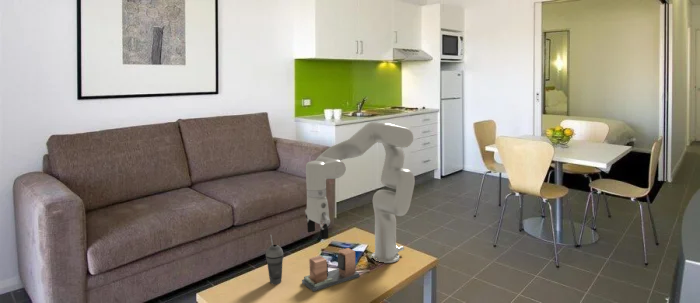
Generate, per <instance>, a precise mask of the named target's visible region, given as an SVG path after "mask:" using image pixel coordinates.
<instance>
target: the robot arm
mask: <svg viewBox="0 0 700 303" xmlns="http://www.w3.org/2000/svg"><path fill="white" fill-rule="evenodd" d="M413 142H414V134H413V132H412V130H411V129H409V128H408V127H406V126H405V127H404V126H400V125H397V124H396V125H395V124H393V123H389V122H388V123H387V122H379V121H370V122H368V123H366V124H365V125H364V126H363V127H362V128H360V129H359V130H358V131H357V132H356V133H355V134H353V135H352V136H351V137H349V138H348V139H346V140H344V141H341V142H339V143H337V144H334V145H333V146H330V147H328V148H327V149H326V150H324V151H323V152H322V153H320V155H318V156H317V157H316V159H315V160H312V161H308V162H307V163H306V165H305V178H306V183H305V184H306V209H304V213H305V218H306V223H307V224H306V225H307V227H306V228H307V232H308V233H313V232H316V224H319V226H320V229H319V231H320V237H319V238H320V239H321V240H325V239H328V238H329V228H330V226H331V219H330V210H329V201H328V197H327V180H329V179H333V180H334V179H339V178H341V177H343V176H344V175H345V173H346V165H345V163H344V161H343V160H346V159H352V158H353V159H354V158H359V157H361V156H363V155H364V154H366V152H367V151H368V150H369V149H370V148H372V147H373V146H374V145H375V144H376V143H380V144H382V146H383V148H384V152H385V156H384V161H383V165H382V166H383V167H382V171H381V175H380V182H381V184H382V185H383V186H385V187H386V188H390V189H393V190H395V191H393V190H388V189H379V190H376V192H374V194H373V197H372V208H373V211H374V252H372V254H371V257H372V256H373V258H374V259H375V258H377V259H376V260H377V261H380V262H384V263H383V264H391V263H395V262H396V263H397V261H399V260H400V254H399V252H401V251H404V250H405V248H404V246H401V245H400V246H398V245H397V219H396V216H398V217H402V216H403V217H404V216H405V215H406V214H407V213H408V211H409V209H410V207H411V203H412V197H413V194H414V189H415V183H416V182H415V180H416V178H415V175H414V173H413V171H412V170H410V169H407V168H404V163H405V152H404V149H405V148H408V147H410V146H411V144H412V143H413Z"/></svg>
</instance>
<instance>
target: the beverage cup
mask: <svg viewBox="0 0 700 303" xmlns="http://www.w3.org/2000/svg"><path fill="white" fill-rule="evenodd" d="M269 235H270V242H271V245H269V247H267V248H266V252H265V259H266V262H267V264H266V265H267V272H268V278H269V282H270V284H271V285H279V284H281V283H282V278H283V260H284V255H285V253H284V251H283V248H282V247H281V246H280V245H278V244H274V242H273V237H272V234H269Z"/></svg>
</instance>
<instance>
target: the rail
mask: <svg viewBox="0 0 700 303" xmlns="http://www.w3.org/2000/svg"><path fill="white" fill-rule="evenodd" d="M357 278H360V273H359V272H357V270H356V251H355V250H353V249H351V248H349V247H347V248H343V249H340V250H338V253H337V268H336V269H333V270H330V271H329V270H328V277H327V279H326V280H323V281H319V282H316V283H315V282H314V281H313V280H311V279H310V274H308V275H305V276H303V279H301V283H302V285H304V286H305V287H306V288H308V289H309V290H310V291H312V292H317V291H320V290H322V289H326V288H330V287H331V286H332V287H333V286H334V285H340V284H341V283H344V282H345V283H346V282H347V281H351V280H353V279H357Z"/></svg>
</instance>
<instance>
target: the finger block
mask: <svg viewBox="0 0 700 303" xmlns="http://www.w3.org/2000/svg"><path fill="white" fill-rule="evenodd" d="M308 259H309V260H308V261H309V275H310V279H311V280H313V281H314V282H315V283H316V282H319V281H323V280H326V279H327V277H328V272H329V262H328V261H327V259H326V258H325V257H323V256H321V255H317V256H315V257H310V258H308Z"/></svg>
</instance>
